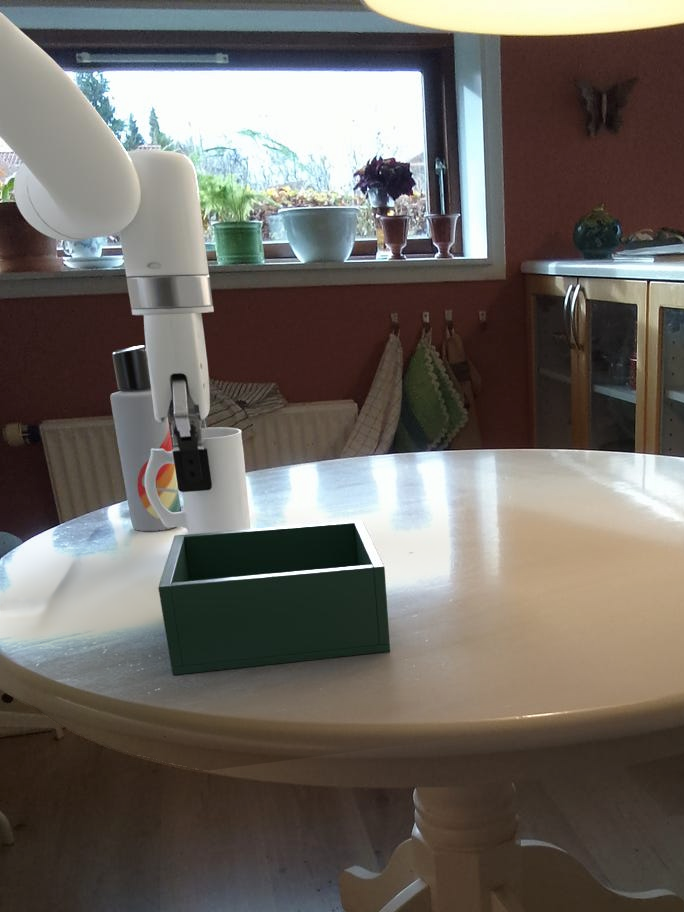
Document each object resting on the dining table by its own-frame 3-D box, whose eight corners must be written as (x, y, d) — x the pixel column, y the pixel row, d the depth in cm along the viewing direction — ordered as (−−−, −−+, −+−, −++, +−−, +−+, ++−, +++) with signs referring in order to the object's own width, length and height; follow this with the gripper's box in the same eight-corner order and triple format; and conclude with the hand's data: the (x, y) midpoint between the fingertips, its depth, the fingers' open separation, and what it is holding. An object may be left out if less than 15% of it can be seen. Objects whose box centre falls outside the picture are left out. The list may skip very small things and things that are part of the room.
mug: (248, 535, 102) (236, 425, 97) (259, 551, 96) (246, 435, 91) (153, 547, 98) (135, 433, 93) (158, 564, 92) (139, 444, 88)
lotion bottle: (189, 526, 107) (162, 345, 99) (138, 534, 104) (107, 349, 97) (176, 517, 111) (149, 343, 104) (127, 524, 108) (96, 347, 101)
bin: (172, 675, 66) (158, 586, 63) (185, 610, 79) (174, 535, 76) (390, 651, 69) (384, 566, 66) (368, 592, 82) (362, 520, 80)
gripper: (140, 298, 95) (166, 470, 102) (117, 300, 79) (151, 504, 86) (215, 295, 97) (236, 465, 103) (208, 297, 81) (233, 498, 87)
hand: (197, 481), depth 94 cm, fingers closed on mug, 6 cm apart
